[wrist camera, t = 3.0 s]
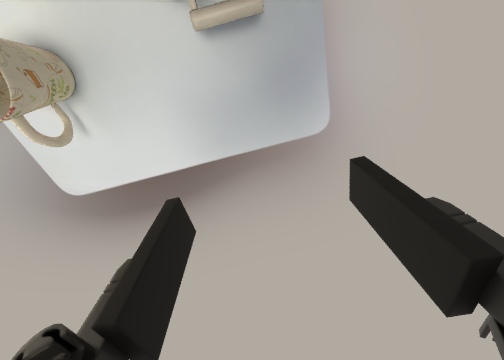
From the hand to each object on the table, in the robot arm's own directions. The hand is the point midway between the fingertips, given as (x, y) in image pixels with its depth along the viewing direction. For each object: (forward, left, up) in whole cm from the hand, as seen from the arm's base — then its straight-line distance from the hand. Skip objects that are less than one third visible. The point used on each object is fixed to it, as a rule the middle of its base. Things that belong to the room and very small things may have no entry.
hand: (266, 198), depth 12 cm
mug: (+25, -10, -22) cm, 35 cm away
